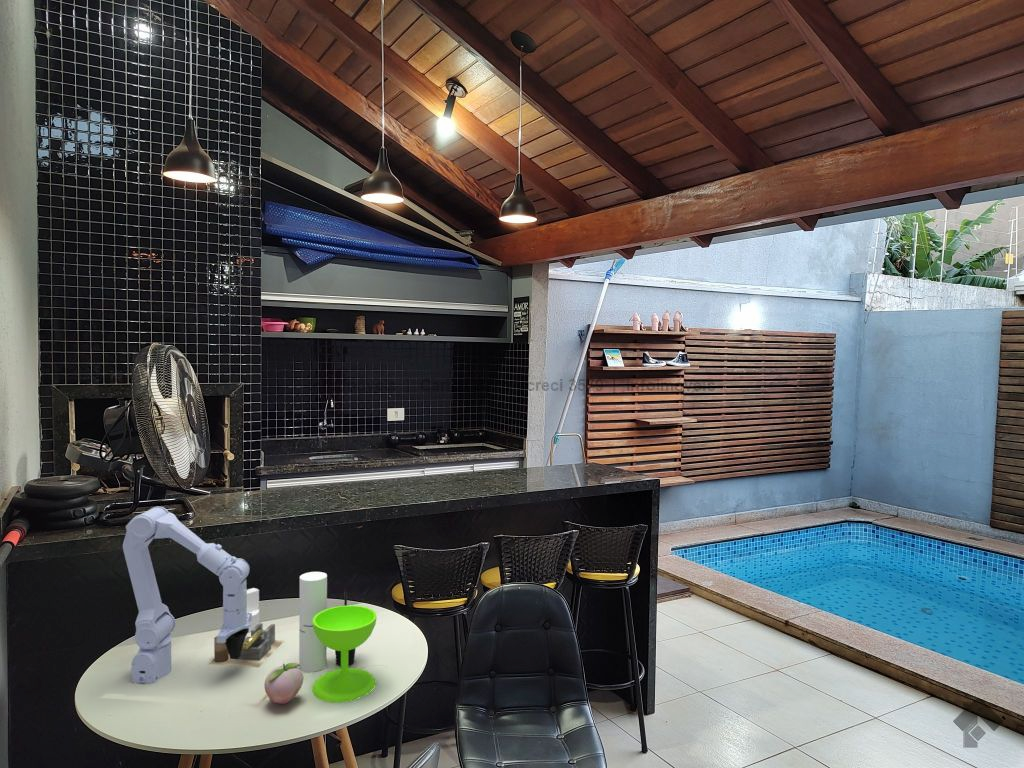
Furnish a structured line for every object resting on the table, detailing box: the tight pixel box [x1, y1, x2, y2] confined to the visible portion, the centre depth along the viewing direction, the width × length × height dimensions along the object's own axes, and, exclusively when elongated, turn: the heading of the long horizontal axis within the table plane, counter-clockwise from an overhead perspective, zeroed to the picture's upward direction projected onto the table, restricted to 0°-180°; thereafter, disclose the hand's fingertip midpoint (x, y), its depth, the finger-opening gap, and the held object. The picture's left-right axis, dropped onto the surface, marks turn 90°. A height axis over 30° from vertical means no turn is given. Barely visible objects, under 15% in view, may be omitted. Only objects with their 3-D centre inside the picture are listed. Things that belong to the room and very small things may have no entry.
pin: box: [242, 630, 263, 650], centre depth 183 cm, size 9×2×2 cm, turn 175°
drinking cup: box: [334, 590, 356, 667], centre depth 182 cm, size 8×8×20 cm
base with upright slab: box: [247, 587, 260, 634], centre depth 200 cm, size 9×9×12 cm
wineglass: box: [311, 604, 378, 703], centre depth 169 cm, size 16×16×18 cm
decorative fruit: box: [263, 662, 305, 705], centre depth 161 cm, size 9×8×10 cm
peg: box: [213, 636, 229, 662], centre depth 180 cm, size 4×4×6 cm
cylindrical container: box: [298, 571, 328, 673], centre depth 179 cm, size 7×7×25 cm
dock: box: [208, 622, 285, 668], centre depth 184 cm, size 16×14×6 cm
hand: (235, 657), depth 173 cm, fingers closed
